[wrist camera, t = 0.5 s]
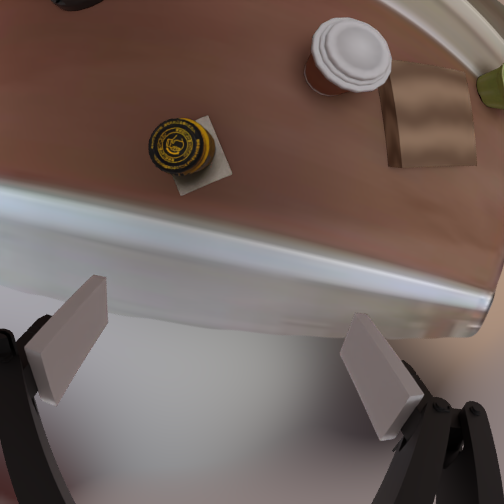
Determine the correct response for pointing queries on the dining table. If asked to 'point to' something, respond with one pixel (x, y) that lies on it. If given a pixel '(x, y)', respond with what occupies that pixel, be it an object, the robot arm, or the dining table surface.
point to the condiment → (188, 153)
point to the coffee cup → (347, 58)
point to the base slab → (427, 116)
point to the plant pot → (492, 88)
